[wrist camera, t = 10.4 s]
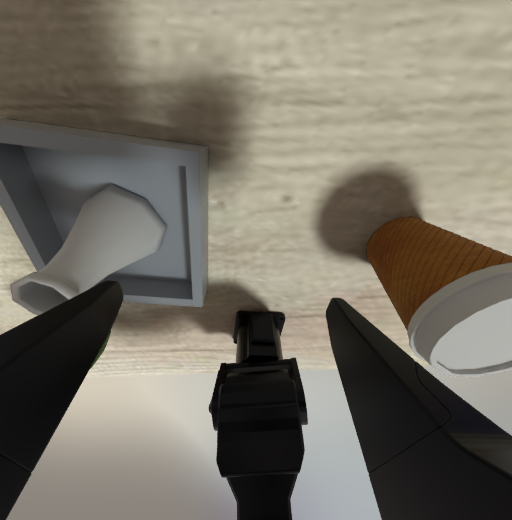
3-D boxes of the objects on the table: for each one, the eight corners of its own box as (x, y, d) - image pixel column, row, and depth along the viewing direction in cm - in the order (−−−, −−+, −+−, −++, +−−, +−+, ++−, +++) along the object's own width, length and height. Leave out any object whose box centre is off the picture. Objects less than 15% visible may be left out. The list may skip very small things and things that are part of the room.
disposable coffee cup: (344, 222, 22) (424, 314, 12) (448, 184, 20) (649, 256, 10) (356, 287, 27) (420, 391, 17) (441, 263, 25) (569, 362, 15)
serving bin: (208, 285, 26) (202, 307, 23) (74, 275, 24) (51, 296, 22) (208, 146, 18) (199, 152, 15) (6, 118, 16) (-47, 119, 13)
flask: (71, 224, 20) (-53, 300, 12) (107, 167, 18) (-21, 214, 9) (141, 268, 23) (81, 353, 15) (181, 225, 21) (135, 300, 12)
